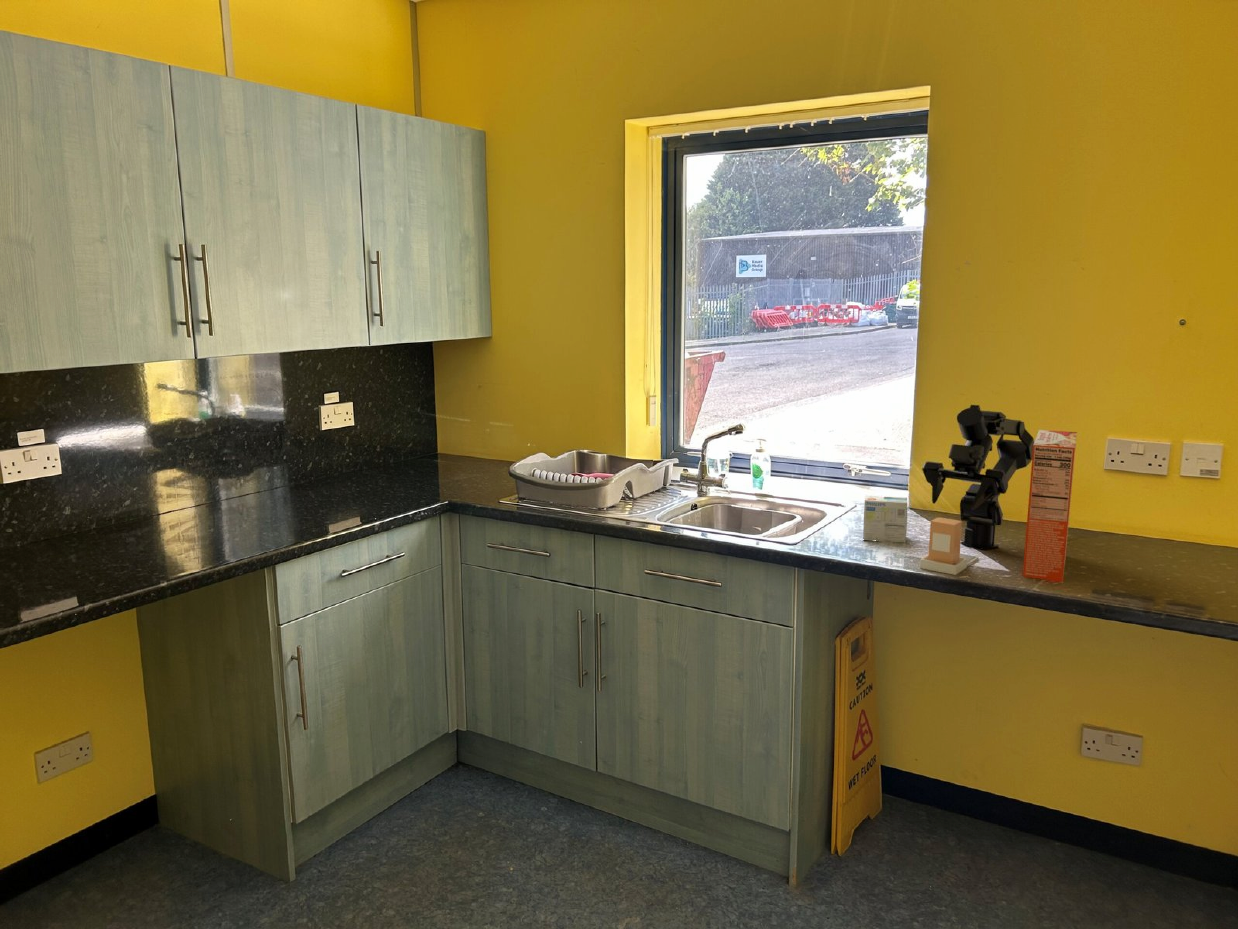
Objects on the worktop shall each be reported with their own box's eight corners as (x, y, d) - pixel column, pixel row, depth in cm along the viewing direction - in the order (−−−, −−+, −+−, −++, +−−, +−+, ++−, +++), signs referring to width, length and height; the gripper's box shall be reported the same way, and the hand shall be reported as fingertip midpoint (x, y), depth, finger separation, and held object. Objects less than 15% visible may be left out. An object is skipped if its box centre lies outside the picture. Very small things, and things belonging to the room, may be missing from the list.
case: (931, 562, 217) (932, 552, 217) (966, 569, 212) (967, 558, 212) (919, 569, 212) (920, 559, 211) (955, 576, 207) (956, 565, 206)
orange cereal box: (1029, 551, 226) (1039, 429, 220) (1065, 555, 222) (1076, 432, 216) (1022, 578, 206) (1033, 444, 200) (1062, 583, 202) (1074, 447, 196)
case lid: (944, 554, 223) (944, 549, 223) (978, 560, 218) (978, 556, 218) (931, 562, 217) (932, 557, 217) (966, 568, 212) (966, 563, 212)
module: (935, 563, 215) (938, 517, 213) (958, 567, 212) (962, 520, 210) (927, 567, 212) (930, 521, 210) (951, 572, 208) (954, 525, 206)
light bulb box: (905, 537, 239) (908, 496, 237) (906, 544, 233) (908, 502, 230) (862, 534, 242) (864, 494, 240) (862, 541, 235) (864, 499, 233)
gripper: (928, 427, 221) (905, 478, 214) (1008, 435, 209) (986, 490, 202) (939, 457, 228) (916, 507, 222) (1017, 466, 216) (996, 519, 210)
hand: (952, 505), depth 214 cm, fingers open, 9 cm apart
